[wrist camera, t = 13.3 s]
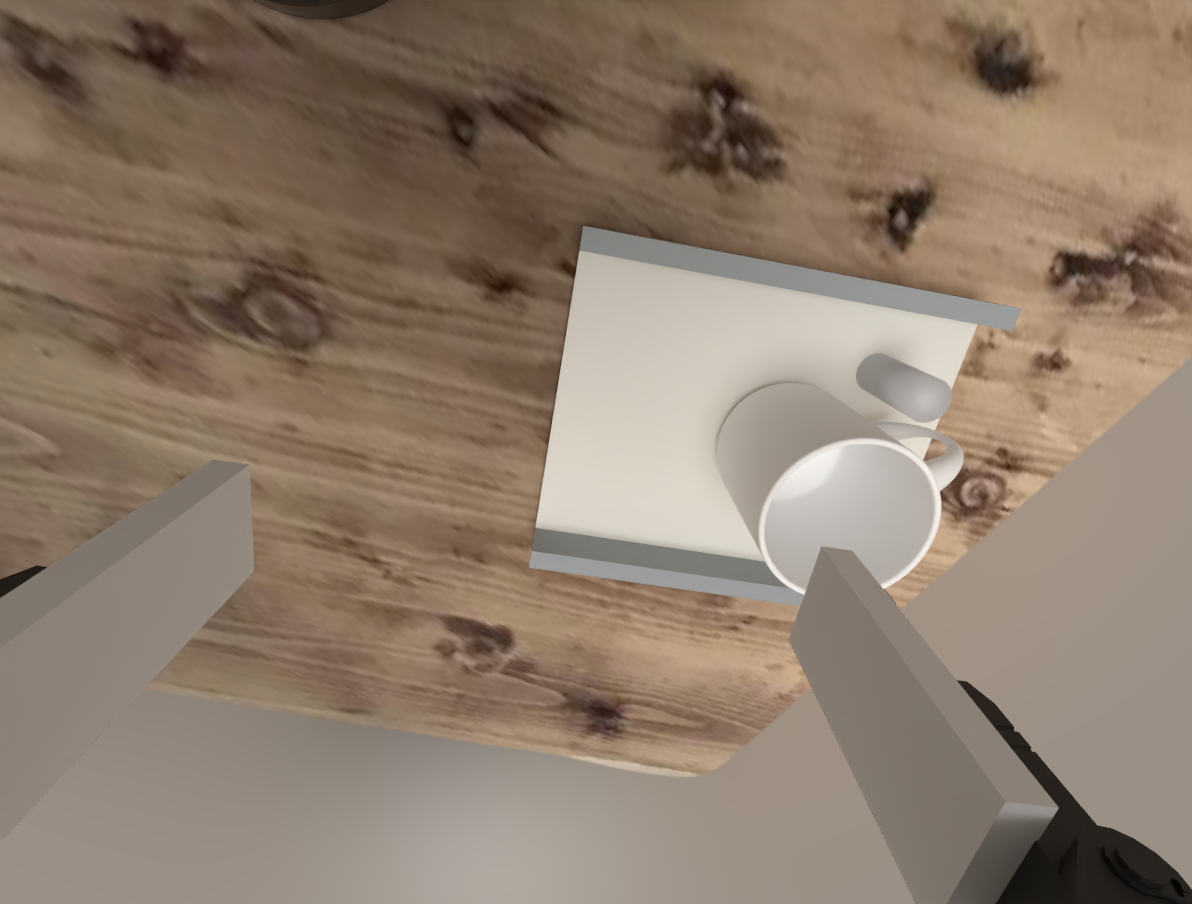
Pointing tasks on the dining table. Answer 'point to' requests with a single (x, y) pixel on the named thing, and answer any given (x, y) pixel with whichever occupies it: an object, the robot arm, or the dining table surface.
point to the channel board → (716, 397)
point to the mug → (831, 483)
